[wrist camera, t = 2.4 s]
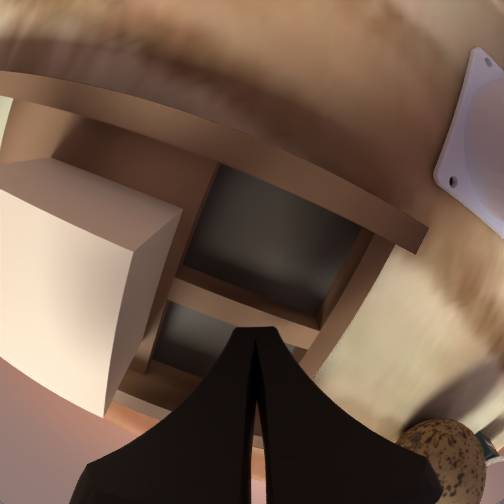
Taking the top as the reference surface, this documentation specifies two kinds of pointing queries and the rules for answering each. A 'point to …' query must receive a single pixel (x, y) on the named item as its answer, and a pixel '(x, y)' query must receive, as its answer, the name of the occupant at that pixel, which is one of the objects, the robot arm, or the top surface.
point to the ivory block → (77, 276)
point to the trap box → (215, 229)
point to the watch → (488, 450)
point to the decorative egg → (450, 458)
